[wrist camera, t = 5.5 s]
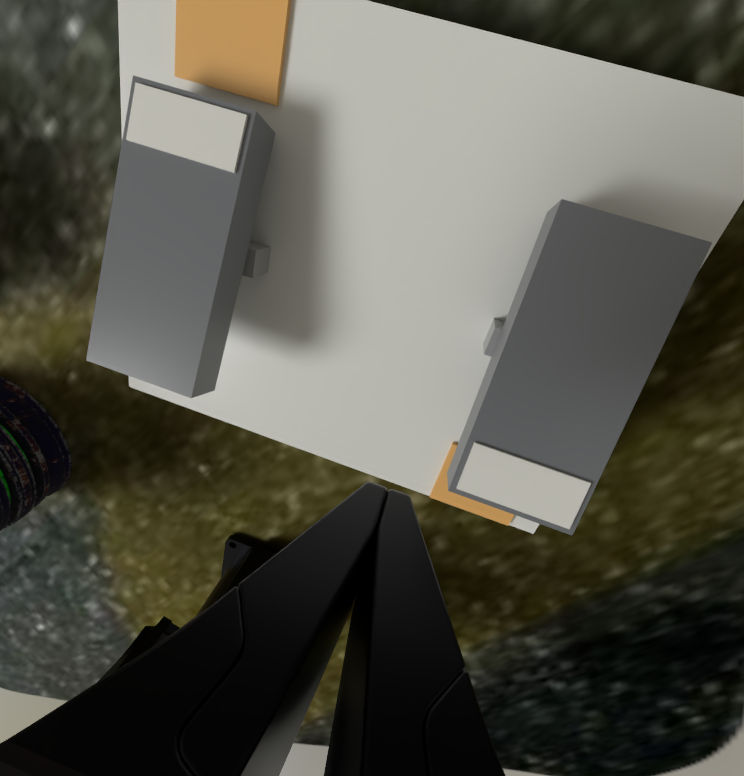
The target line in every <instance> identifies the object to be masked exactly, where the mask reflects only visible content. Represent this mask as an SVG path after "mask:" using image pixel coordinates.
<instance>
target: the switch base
mask: <svg viewBox="0 0 744 776" xmlns="http://www.w3.org/2000/svg"><path fill="white" fill-rule="evenodd" d="M118 20H119V55H120V90H121V125H122V139H123V133H124V127H125V121H126V115H127V109H128V103H129V97H130V90H131V84H132V78H133V75H134V76H137V77H141V78H144V79H148V80H151V81H155V82H158V83H162V84H165V85H169V86H172V87H175V88H179V89H182V90H186V91H189V92H193V93H196V94H200V95H203V96H207V97H210V98H214V99H217V100H220V101H224V102H227V103H231V104H234V105H238V106H241V107H245V108H248V109H252V110H255V111H257V112H258V114H259V115H260V116H261V117H262V118H263V119H264V120H265V122H266V123H267V124H268V125H269V126H270V127H271V129H272V130H273V131H274V132H275V133H276V134H275V138H274V142H273V147H272V151H271V155H270V159H269V164H268V168H267V172H266V176H265V180H264V185H263V189H262V193H261V197H260V201H259V206H258V210H257V214H256V218H255V222H254V227H253V231H252V235H251V239H250V244H249V248H248V252H247V256H246V260H245V265H244V269H243V273H242V277H241V281H240V286H239V290H238V294H237V298H236V302H235V307H234V311H233V315H232V319H231V324H230V328H229V332H228V336H227V340H226V345H225V349H224V353H223V357H222V361H221V366H220V370H219V374H218V378H217V382H216V387H215V391H212V392H209V393H206V394H203V395H200V396H197V397H194V398H189V397H186V396H183V395H181V394H178V393H175V392H172V391H169V390H167V389H164V388H161V387H158V386H156V385H153V384H150V383H147V382H145V381H142V380H139V379H136V378H133V377H131V376H129V387H131V388H134V389H136V390H139V391H142V392H145V393H147V394H150V395H153V396H156V397H158V398H161V399H164V400H167V401H169V402H172V403H175V404H178V405H180V406H183V407H186V408H189V409H191V410H194V411H197V412H200V413H202V414H205V415H208V416H211V417H213V418H216V419H219V420H222V421H224V422H227V423H230V424H233V425H235V426H238V427H241V428H244V429H246V430H249V431H252V432H255V433H257V434H260V435H263V436H266V437H268V438H271V439H274V440H277V441H279V442H282V443H285V444H288V445H290V446H293V447H296V448H299V449H301V450H304V451H307V452H310V453H312V454H315V455H318V456H321V457H323V458H326V459H329V460H332V461H334V462H337V463H340V464H343V465H345V466H348V467H351V468H354V469H356V470H359V471H362V472H365V473H367V474H370V475H373V476H376V477H378V478H381V479H384V480H387V481H389V482H392V483H395V484H398V485H400V486H403V487H406V488H409V489H411V490H414V491H417V492H420V493H422V494H425V495H428V496H430V498H433V499H436V500H438V501H441V502H444V503H447V504H449V505H452V506H455V507H458V508H460V509H463V510H466V511H469V512H471V513H474V514H477V515H480V516H482V517H485V518H488V519H491V520H493V521H496V522H499V523H502V524H504V525H507V526H508V525H510V526H513V527H516V528H519V529H521V530H524V531H527V532H530V533H532V534H534V532H535V530H536V529H537V527H538V526H539V523H536V522H533V521H530V520H528V519H525V518H522V517H519V516H517V515H514V514H511V513H508V512H505V511H503V510H500V509H497V508H494V507H492V506H489V505H486V504H483V503H481V502H478V501H475V500H472V499H469V498H467V497H464V496H461V495H458V494H456V493H453V492H450V491H448V481H447V471H448V469H449V466H450V464H451V461H452V458H453V456H454V453H455V451H456V448H457V445H458V443H459V440H460V438H461V435H462V432H463V430H464V427H465V425H466V422H467V419H468V417H469V414H470V412H471V409H472V406H473V404H474V401H475V399H476V396H477V393H478V391H479V388H480V386H481V383H482V380H483V378H484V375H485V373H486V370H487V367H488V365H489V362H490V359H491V357H492V354H493V352H494V349H495V346H496V344H497V341H498V339H499V336H500V333H501V331H502V328H503V326H504V323H505V320H506V318H507V315H508V313H509V310H510V307H511V305H512V302H513V300H514V297H515V294H516V292H517V289H518V287H519V284H520V281H521V279H522V276H523V274H524V271H525V268H526V266H527V263H528V261H529V258H530V255H531V253H532V250H533V248H534V245H535V242H536V240H537V237H538V235H539V232H540V229H541V227H542V224H543V221H544V219H545V216H546V214H547V212H548V211H549V210H550V209H551V208H552V207H553V206H554V205H556V204H557V203H558V202H559V201H560V200H561V199H564V200H567V201H571V202H574V203H577V204H581V205H584V206H588V207H591V208H595V209H598V210H602V211H605V212H609V213H612V214H616V215H619V216H622V217H626V218H629V219H633V220H636V221H640V222H643V223H647V224H650V225H654V226H657V227H660V228H664V229H667V230H671V231H674V232H678V233H681V234H685V235H688V236H692V237H695V238H699V239H702V240H705V241H709V242H712V244H711V246H710V248H709V250H708V253H707V255H706V257H705V259H704V261H703V263H702V265H703V264H704V262H705V260H706V259H707V257H708V256H709V254H710V253H711V251H712V249H713V248H714V246H715V245H716V243H717V241H718V240H719V238H720V237H721V235H722V233H723V232H724V230H725V229H726V227H727V226H728V224H729V222H730V221H731V219H732V218H733V216H734V214H735V213H736V211H737V210H738V208H739V206H740V205H741V203H742V202H743V200H744V97H741V96H737V95H733V94H729V93H726V92H722V91H718V90H714V89H710V88H706V87H702V86H698V85H694V84H691V83H687V82H683V81H679V80H675V79H671V78H667V77H663V76H659V75H656V74H652V73H648V72H644V71H640V70H636V69H632V68H628V67H624V66H621V65H617V64H613V63H609V62H605V61H601V60H597V59H593V58H589V57H586V56H582V55H578V54H574V53H570V52H566V51H562V50H558V49H554V48H551V47H547V46H543V45H539V44H535V43H531V42H527V41H523V40H519V39H516V38H512V37H508V36H504V35H500V34H496V33H492V32H488V31H484V30H481V29H477V28H473V27H469V26H465V25H461V24H457V23H453V22H449V21H446V20H442V19H438V18H434V17H430V16H426V15H422V14H418V13H414V12H411V11H407V10H403V9H399V8H395V7H391V6H387V5H383V4H379V3H375V2H372V1H368V0H118ZM702 265H701V267H702ZM701 267H700V268H701ZM699 270H700V269H699ZM698 272H699V271H698Z"/></svg>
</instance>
